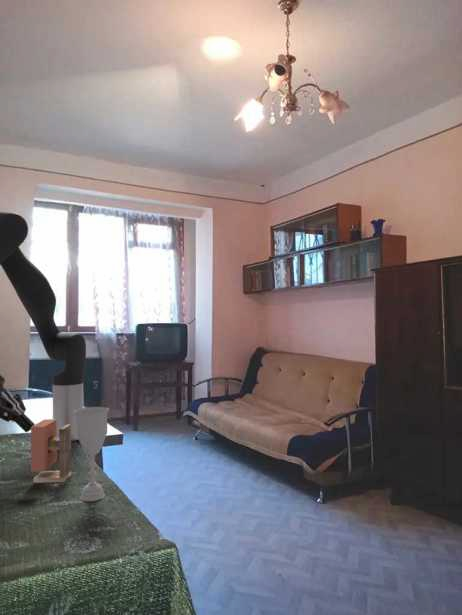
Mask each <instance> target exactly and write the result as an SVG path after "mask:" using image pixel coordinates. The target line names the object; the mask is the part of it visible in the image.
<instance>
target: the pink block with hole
mask: <svg viewBox="0 0 462 615" xmlns="http://www.w3.org/2000/svg"><path fill="white" fill-rule="evenodd" d="M48 438H57V419H53V418H52V419H48V418H47V419H42V420H41V421H39V422H37V423H36V424H35V425H34V426H32V427H31V430H30V468H31V469H30V471H31V472H36V473H37V472H41V471H48V469H49V468H50V467H52V466H53V465H54V464H55V463H56V462H57V461H58V450H55V451H51V450H48Z"/></svg>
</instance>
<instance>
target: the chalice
mask: <svg viewBox="0 0 462 615" xmlns="http://www.w3.org/2000/svg"><path fill="white" fill-rule="evenodd" d="M109 411H110V408H109V407H104V406H103V407H102V406H91V407H84V408H81V409H77V410H75V411H74V412H75V414H76V416H77V436H78V441H79V444H80V446H81V448H82V449H83V452H84V453H85V455H87V456H88V455H89V463H88V465H89V466H88V467H89V472H87V474H88V475H89V478H90V479H89V482H88V484H86V485H85V486H84V487H83V488H82V489H83V490H82V492H81V495H80V497H79V500H81V501H83V502H94V501H95V502H96V501H99V500H102V499H104V498H105V497H106V494H105V492H104V489H103V488H102V487H103V486H102V485H101V484H100V483H97V482H96V475H97V474H98V472H97V471H96V469H95V468H96V466H97V462H96V459H95V458H96V455H98V454H99V453H100V451H101V450H102V447H103V445H104V442H105V440H106V437H107V433H108V413H109Z"/></svg>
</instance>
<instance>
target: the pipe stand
mask: <svg viewBox="0 0 462 615" xmlns="http://www.w3.org/2000/svg"><path fill="white" fill-rule="evenodd" d="M48 450H51V451H55V450H57V451H59V455H58V458H59V459H58V462H59V470H46V471H39V473H38V474H37V475H36V476H34V477H33V478H32V479H33V482H32V483H33V484H35V483H36V484H38V483H40V484H42V483H44V484H45V483H65V482H66V481H67V480H68V479H69V478H70V477H71V475H72V441H71V424H66V425H65V426H63V427H62V428H60V429H59V438H58V437H57V438H48Z"/></svg>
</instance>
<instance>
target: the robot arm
mask: <svg viewBox="0 0 462 615" xmlns="http://www.w3.org/2000/svg"><path fill="white" fill-rule="evenodd" d="M28 235H29V226H28V223H27V221H26V219H25V218H24V217H23V216H22V215H21V214H19V213H17V212H13V211H10V212H9V211H0V266H1V268H2V270H3V271H4V273H5V275H6V276H7V278H8V280H9V282H10V284H11V285H12V287H13V289H14V291H15V292H16V295H17V296H18V299H19V301H21V304H22V306H23V307H24V309H25V310H26V312H27V315H29V318H30V319H31V321H32V324H33V325H34V327H35V329H36V331H37V334H38V336H39V338H40V341H41V343H42V345H43V348H44V350H45V352H46V355H47V356H48V358H49V359H50V360H51V361H53V362H56V363H65V367H64V369H63V370H62V371H60V372H59V373H55V374H54V375H53V376H52V419H57V437H58V438H59V429H60V428H62V427H63V426H65V425H66V424H71V442H72V441H74V442H75V441H79V439H78V436H77V416H76V414H75V412H74V411H75V410H77V409H81V408H85V407H84V378H85V374H86V363H87V362H86V358H87V343H86V340H85V337H84V336H83V335H82V334H81V333H78V332H77V333H76V332H65V333H64V332H63V333H62V332H61V331H60V330H59V327H58V326H57V324H56V321H55V311H56V306H57V296H56V294H55V292H54V290H53V287H52V285H51V284H50V281H49V280H48V279H47V277H46V276H45V275H44V273H43V272H41V270H40V269H39V268H38V267H37V266H36V265H35V264H34V263H32V262H31V261H30V260H29V258H28V257H27V256H25V254H24V252H23V251H22V250H21V248H20V246H21V245H22V244H23V243H24V241H25V240H26V239H27V238H28ZM5 382H6V379H5V378H4V376H2V375H1V374H0V419H1V420H3V421H5V422H7V423H9V422H11V423H15V424H17V426H19V428H20V429H22V430H23V432H25V433H28V432H29V431H30V432H31V427H32V426H34V425H36V424H35V423H34V422H33V420H31V419H30V418H29V417H28V416H27V415H26V414H25V412H26V411H27V408H26V406H25V404H24V401H23V399H22V397H21V395H20V394H19V393H16V394H14V395H13V393H12V392H11V391H9V390H8V389H7V388H5V387H4V384H5Z"/></svg>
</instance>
